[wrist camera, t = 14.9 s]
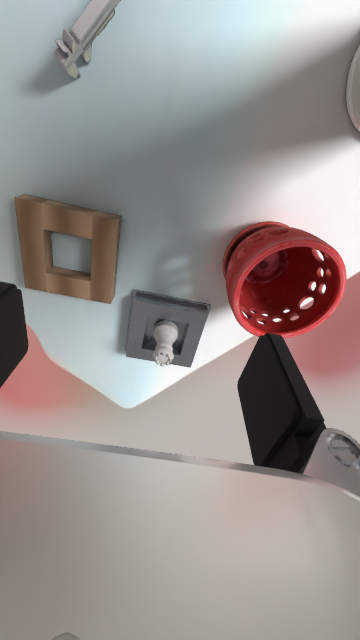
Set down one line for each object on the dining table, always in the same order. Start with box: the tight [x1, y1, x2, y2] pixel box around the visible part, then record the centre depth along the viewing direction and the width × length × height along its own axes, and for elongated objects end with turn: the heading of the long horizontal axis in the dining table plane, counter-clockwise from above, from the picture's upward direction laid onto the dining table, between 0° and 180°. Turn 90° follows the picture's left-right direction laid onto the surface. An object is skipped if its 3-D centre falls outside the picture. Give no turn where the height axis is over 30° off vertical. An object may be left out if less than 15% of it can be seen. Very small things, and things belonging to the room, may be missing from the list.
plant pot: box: [223, 221, 346, 339], centre depth 35 cm, size 13×13×12 cm
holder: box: [125, 290, 211, 367], centre depth 47 cm, size 13×13×2 cm
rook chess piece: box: [153, 320, 179, 366], centre depth 44 cm, size 4×4×8 cm
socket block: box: [15, 194, 121, 304], centre depth 39 cm, size 13×13×2 cm
